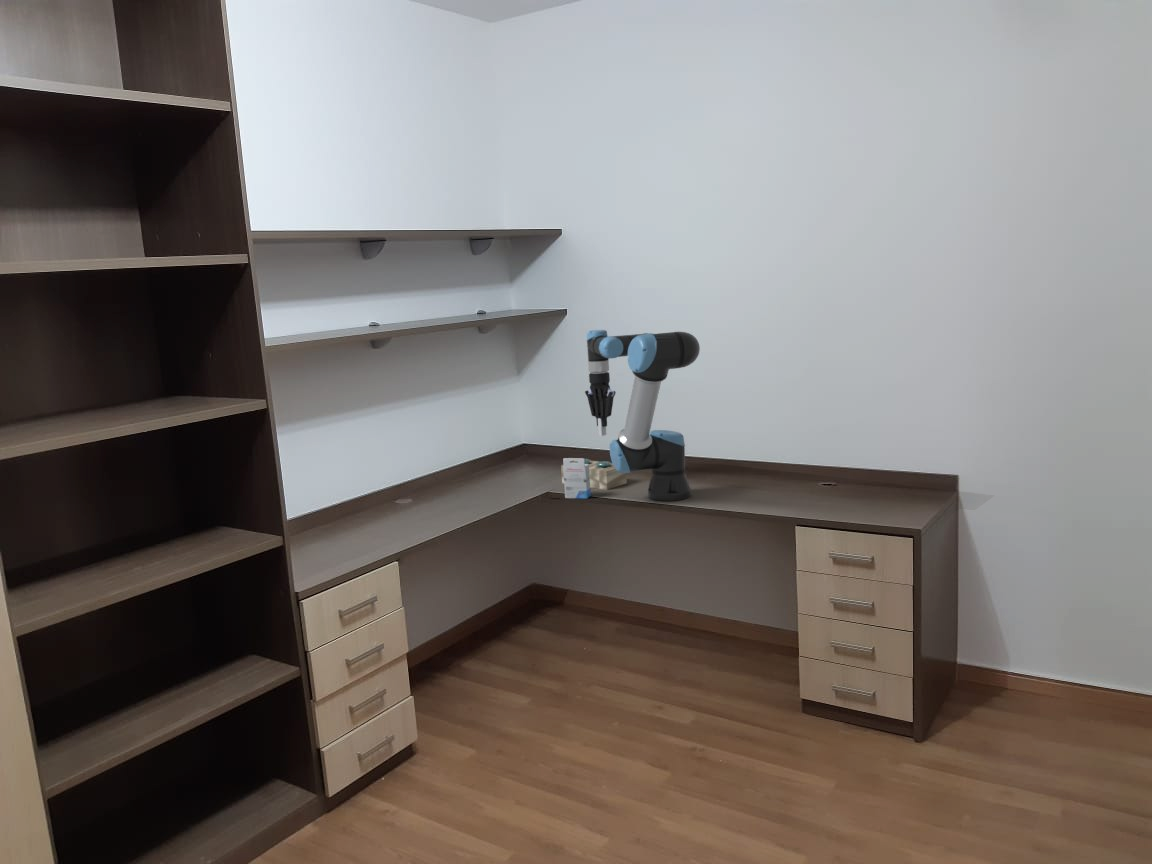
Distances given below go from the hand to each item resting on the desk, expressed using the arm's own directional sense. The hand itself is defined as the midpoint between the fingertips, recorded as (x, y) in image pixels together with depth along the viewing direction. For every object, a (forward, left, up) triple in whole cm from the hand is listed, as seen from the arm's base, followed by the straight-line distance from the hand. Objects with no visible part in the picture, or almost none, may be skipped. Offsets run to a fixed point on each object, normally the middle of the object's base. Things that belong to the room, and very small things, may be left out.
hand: (602, 435), depth 338 cm
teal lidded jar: (+10, 0, -18) cm, 21 cm away
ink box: (-3, +19, -19) cm, 27 cm away
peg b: (0, 0, -18) cm, 18 cm away
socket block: (+5, 0, -19) cm, 20 cm away
